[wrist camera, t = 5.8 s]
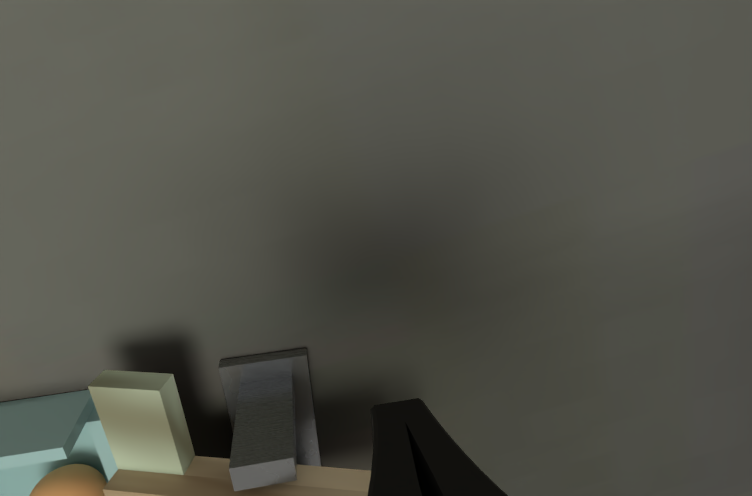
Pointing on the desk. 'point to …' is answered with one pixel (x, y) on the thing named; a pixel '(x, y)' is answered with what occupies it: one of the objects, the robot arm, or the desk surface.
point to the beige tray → (183, 447)
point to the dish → (50, 439)
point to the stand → (269, 417)
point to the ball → (71, 482)
